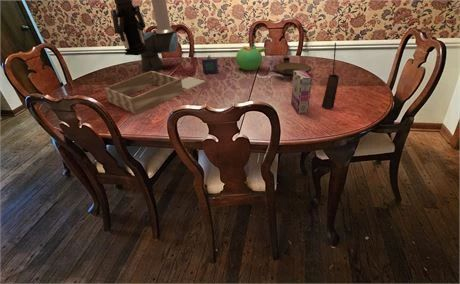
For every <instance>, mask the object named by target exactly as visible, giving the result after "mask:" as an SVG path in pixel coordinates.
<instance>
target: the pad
mask: <svg viewBox="0 0 460 284" xmlns="http://www.w3.org/2000/svg"><path fill="white" fill-rule="evenodd" d="M181 82H182V88H183V90H185V91H190V90H192V89H194V88H196V87H198V86H201V85H203V84H205V83H207V82H206V80H202V79H199V78H195V77H191V76H188V77H185V78H183V79H181Z"/></svg>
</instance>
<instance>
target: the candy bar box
mask: <svg viewBox="0 0 460 284" xmlns="http://www.w3.org/2000/svg"><path fill="white" fill-rule="evenodd" d="M312 81H313V78H312V77H311V76H310V74H308V72H307V73H306V72H305V71H304V70H297V71H293V76H292V85H291V86H292V88H291V99H290V100H291V101H290V102H291V103H290V104H291V106H292V108H293V109H294V111H295V112H296V114H298V115H302V114H303V115H304V114H308V113H309V107H310V106H309V105H310V98H311V96H310V95H311V90H312V83H313V82H312Z"/></svg>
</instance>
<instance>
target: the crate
mask: <svg viewBox="0 0 460 284" xmlns="http://www.w3.org/2000/svg"><path fill="white" fill-rule="evenodd" d="M181 80H182V78H179V77H176V76H171V75H168V74H164V73H163V72H162V73H161V72H158V71H146V72H145V73H141V74H139V75H135V76H132V77H130V78H128V79H125V80H122V81H120V82H116V83H114V84H111V85H108V86H105V87H103V89H104V92H105V95H106V97H107V100H108V102H109V103H111V104H113V105H114V106H117V107H119V108H121V109H123V110H125V111H128V112H130V113H132V114H134V115H138V114H141V113H142V112H145V111H147V110H149V109H151V108H153V107H155V106H157V105H159V104H161V103H164V102H167V101H169V100H171V99H172V98H173V99H174V98H175V97H177V96H179V95H182V94H183V93H184V89H183V88H182V82H181ZM152 86H157V87H156V88H152V89H150V90H148V91H146V92H143V93H141V94H139V95H136V96H134V97H133V96H132V97H131V96H129V95H132V94H134V93H136V92H140V91H142V90H144V89H147V88H149V87H152Z"/></svg>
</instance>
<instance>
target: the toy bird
mask: <svg viewBox="0 0 460 284" xmlns="http://www.w3.org/2000/svg"><path fill="white" fill-rule="evenodd" d="M266 50H267V47H259V48H257V46H256V45H253V46H245V45H244V46H243V47H242V48H240V49H239V50H238V51H237V53H236V55H235V61H236V64H237V66H238V67H239V68H241V69H242V70H245V71H253V70H254V71H255V70H256V69H258V68H259V67H260V66H261V64H262V62H263V55H262V52H263V51H266Z"/></svg>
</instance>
